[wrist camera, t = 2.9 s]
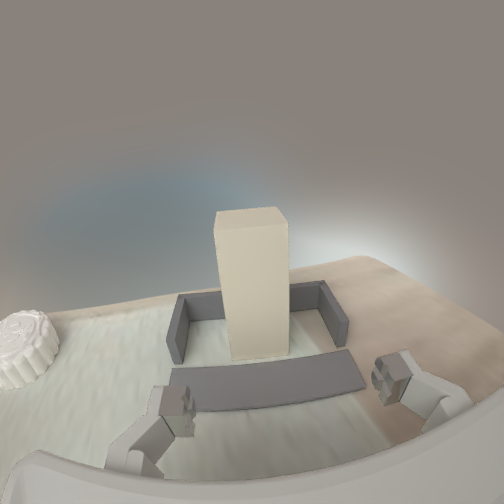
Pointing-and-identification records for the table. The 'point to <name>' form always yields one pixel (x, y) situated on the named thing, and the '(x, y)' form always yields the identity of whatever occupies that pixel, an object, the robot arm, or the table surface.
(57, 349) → the mooncake
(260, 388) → the grey open frame
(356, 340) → the table surface
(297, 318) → the table surface
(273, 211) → the beige rectangular block
